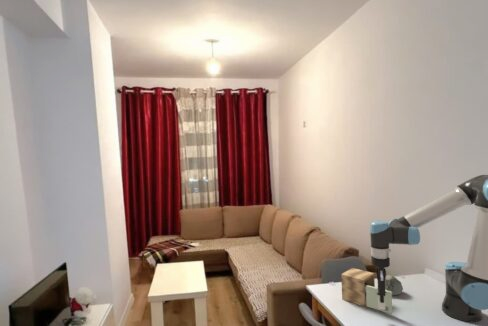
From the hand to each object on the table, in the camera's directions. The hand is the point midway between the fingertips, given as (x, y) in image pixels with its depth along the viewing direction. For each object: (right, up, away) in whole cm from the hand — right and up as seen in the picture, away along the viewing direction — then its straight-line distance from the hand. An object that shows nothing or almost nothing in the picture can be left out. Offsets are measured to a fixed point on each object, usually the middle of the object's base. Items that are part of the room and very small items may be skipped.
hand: (382, 308), depth 137 cm
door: (+1, -4, +7) cm, 9 cm away
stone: (+17, -4, +26) cm, 32 cm away
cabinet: (-3, -5, +21) cm, 22 cm away
